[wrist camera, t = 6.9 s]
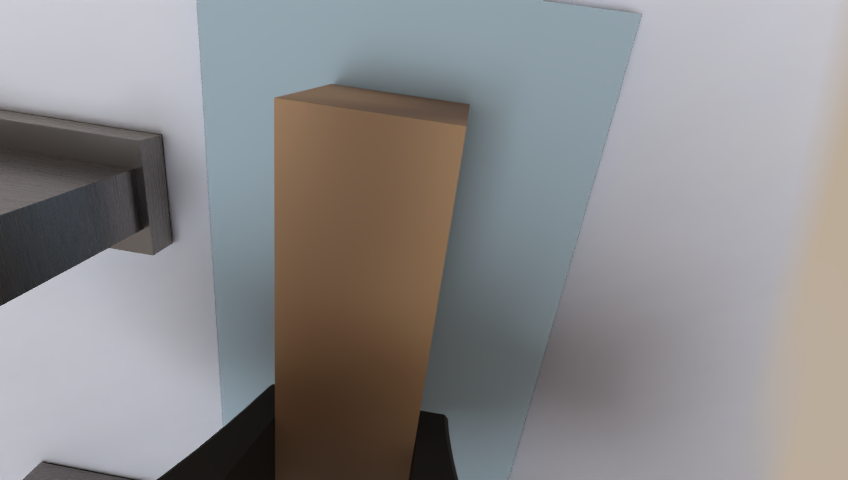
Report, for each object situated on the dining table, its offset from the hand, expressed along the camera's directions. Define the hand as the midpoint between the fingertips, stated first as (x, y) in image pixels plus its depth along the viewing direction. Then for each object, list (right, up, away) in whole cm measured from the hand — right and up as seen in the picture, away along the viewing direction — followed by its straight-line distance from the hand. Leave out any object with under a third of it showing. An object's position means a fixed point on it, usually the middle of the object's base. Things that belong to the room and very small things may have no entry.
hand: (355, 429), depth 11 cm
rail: (0, +1, +2) cm, 2 cm away
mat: (0, +1, +2) cm, 2 cm away
